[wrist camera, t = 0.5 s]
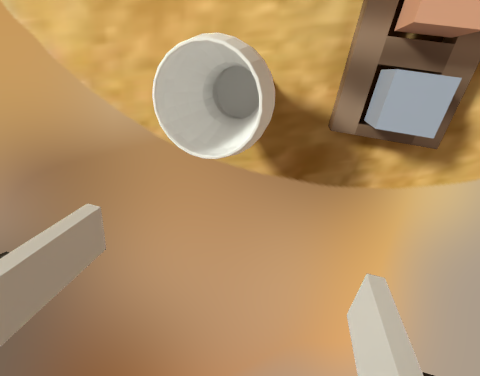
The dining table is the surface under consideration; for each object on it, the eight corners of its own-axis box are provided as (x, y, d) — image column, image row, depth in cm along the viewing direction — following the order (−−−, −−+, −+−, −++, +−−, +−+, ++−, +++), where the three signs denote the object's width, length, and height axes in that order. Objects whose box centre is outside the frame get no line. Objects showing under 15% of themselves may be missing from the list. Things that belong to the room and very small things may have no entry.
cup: (297, 66, 32) (294, 61, 18) (263, 143, 37) (241, 183, 23) (219, 32, 32) (160, 4, 19) (195, 113, 37) (135, 136, 24)
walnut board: (416, -187, 22) (432, -222, 19) (576, -185, 20) (617, -224, 18) (328, 126, 34) (330, 130, 31) (425, 142, 32) (437, 149, 29)
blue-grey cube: (381, 69, 28) (396, 69, 23) (435, 77, 27) (461, 78, 22) (364, 120, 30) (375, 128, 25) (413, 128, 29) (433, 138, 25)
